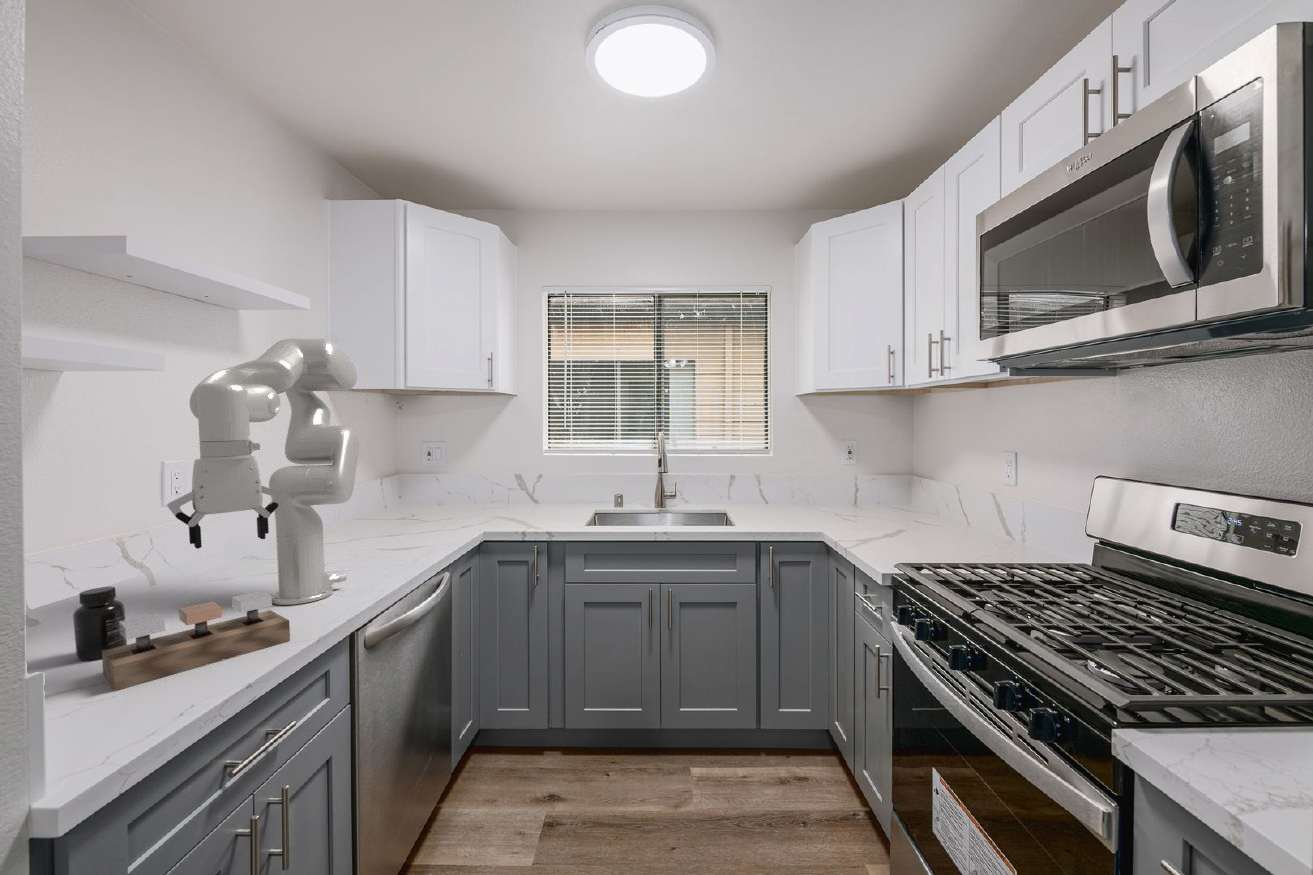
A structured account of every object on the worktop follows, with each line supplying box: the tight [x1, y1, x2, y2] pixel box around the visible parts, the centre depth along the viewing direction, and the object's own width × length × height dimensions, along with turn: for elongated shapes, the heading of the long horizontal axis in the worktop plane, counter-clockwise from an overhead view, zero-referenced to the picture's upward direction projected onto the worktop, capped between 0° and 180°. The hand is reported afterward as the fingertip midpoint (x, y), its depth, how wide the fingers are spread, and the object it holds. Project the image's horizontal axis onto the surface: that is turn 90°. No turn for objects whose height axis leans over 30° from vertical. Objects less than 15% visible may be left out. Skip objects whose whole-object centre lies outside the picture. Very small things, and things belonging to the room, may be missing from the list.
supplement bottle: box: [72, 586, 128, 662], centre depth 107 cm, size 7×7×12 cm
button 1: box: [119, 613, 166, 654], centre depth 99 cm, size 5×5×6 cm
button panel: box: [102, 609, 291, 692], centre depth 105 cm, size 25×10×4 cm, turn 142°
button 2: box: [231, 590, 273, 626], centre depth 111 cm, size 5×5×6 cm
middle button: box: [178, 601, 223, 639], centre depth 105 cm, size 5×5×6 cm
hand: (230, 542), depth 107 cm, fingers open, 9 cm apart
